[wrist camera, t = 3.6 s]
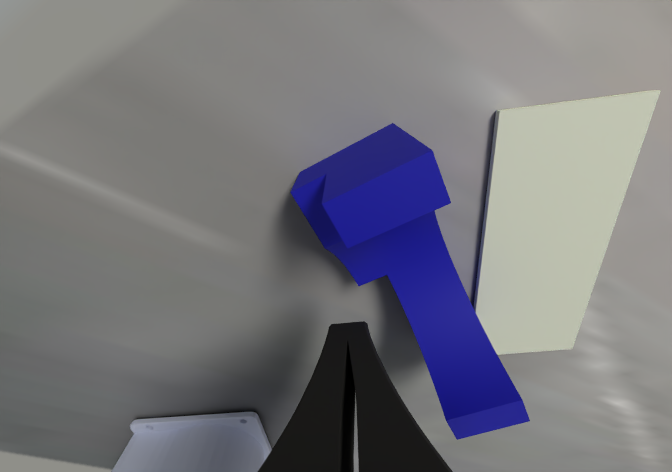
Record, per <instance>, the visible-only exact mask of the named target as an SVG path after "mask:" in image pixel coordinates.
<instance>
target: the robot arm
mask: <svg viewBox="0 0 672 472" xmlns="http://www.w3.org/2000/svg"><path fill="white" fill-rule="evenodd" d="M355 392H356V402H357V427H358V457H359V472H452V470H451V469H450V468H449V466H448V465H447V464H446V462H445V461H444V460H443V458H442V457H441V456H440V454H439V453H438V452H437V451H436V449H435V448H434V447H433V445H432V444H431V443H430V441H429V440H428V438H427V437H426V436H425V434H424V433H423V431H422V430H421V428H420V427H419V426H418V424H417V423H416V421H415V420H414V418H413V417H412V415H411V413H410V412H409V410H408V409H407V407H406V406H405V404H404V402H403V401H402V399H401V397H400V396H399V394H398V392H397V391H396V389H395V387H394V385H393V384H392V382H391V380H390V378H389V376H388V374H387V372H386V370H385V368H384V366H383V364H382V362H381V360H380V358H379V356H378V354H377V352H376V349H375V347H374V344H373V342H372V339H371V336H370V333H369V329H368V325H367V323H366V322H364V321H363V322H352V323H341V324H332V325H331V326H330V327H329V330H328V334H327V338H326V341H325V344H324V347H323V350H322V353H321V355H320V358H319V360H318V363H317V365H316V368H315V370H314V373H313V375H312V377H311V380H310V382H309V384H308V386H307V388H306V390H305V392H304V394H303V396H302V399H301V401H300V402H299V404H298V406H297V408H296V410H295V412H294V414H293V416H292V417H291V419H290V421H289V423H288V424H287V426H286V428H285V430H284V431H283V433H282V435H281V436H280V438H279V439H278V441H277V443H276V444H275V446H274V448H273V449H272V448H271V446H270V444H269V441H268V439H267V436H266V434H265V431H264V429H263V426H262V424H261V421H260V419H259V416H258V415H257V413H255V412H236V413H222V414H207V415H192V416H177V417H163V418H148V419H136V420H134V421H133V422H132V423H131V425H130V428H131V430H132V431H133V433H134V434H133V436H132V438H131V439H130V441H129V443H128V444H127V446H126V448H125V450H124V451H123V453H122V455H121V456H120V458H119V460H118V461H117V463H116V465H115V466H114V468H113V470H112V471H111V472H354V462H353V454H354V416H355Z"/></svg>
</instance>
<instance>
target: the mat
mask: <svg viewBox="0 0 672 472" xmlns="http://www.w3.org/2000/svg"><path fill="white" fill-rule="evenodd" d="M660 91H661V90H650V91H643V92H635V93H627V94H620V95H612V96H604V97H597V98H589V99H581V100H574V101H566V102H558V103H551V104H543V105H535V106H528V107H520V108H512V109H505V110H497V111H496V116H495V125H494V134H493V142H492V151H491V160H490V168H489V177H488V186H487V194H486V203H485V212H484V220H483V229H482V238H481V246H480V255H479V264H478V272H477V281H476V290H475V299H474V307H473V308H474V311H475V313H476V315H477V317H478V319H479V321H480V323H481V325H482V327H483V329H484V331H485V333H486V334H487V336H488V338H489V340H490V342H491V344H492V346H493V348H494V350H495V352H496V354H497V355H500V354H513V353H526V352H539V351H552V350H565V349H572V348H573V345H574V343H575V340H576V337H577V334H578V331H579V328H580V325H581V322H582V319H583V316H584V313H585V310H586V307H587V304H588V302H589V299H590V296H591V293H592V290H593V287H594V284H595V281H596V278H597V275H598V272H599V269H600V266H601V264H602V261H603V258H604V255H605V252H606V249H607V246H608V243H609V240H610V237H611V234H612V231H613V228H614V226H615V223H616V220H617V217H618V214H619V211H620V208H621V205H622V202H623V199H624V196H625V193H626V190H627V187H628V185H629V182H630V179H631V176H632V173H633V170H634V167H635V164H636V161H637V158H638V155H639V152H640V149H641V147H642V144H643V141H644V138H645V135H646V132H647V129H648V126H649V123H650V120H651V117H652V114H653V111H654V108H655V106H656V103H657V100H658V97H659V94H660Z"/></svg>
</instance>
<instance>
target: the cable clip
mask: <svg viewBox="0 0 672 472" xmlns="http://www.w3.org/2000/svg"><path fill="white" fill-rule="evenodd" d="M291 194H292V196H293V197H294V199H295V201H296V202H297V204H298V205H299V207H300V209H301V210H302V212H303V214H304V215H305V217H306V219H307V220H308V222H309V223H310V225H311V227H312V228H313V230H314V232H315V233H316V235H317V236H318V238H319V240H320V241H321V243H322V245H323V246H324V248H325V249H327V250H329V251H330V252H332V253H333V254H334V255H335V256H336V257H337V258H338V259H339V260H340V261H341V262H342V263H343V264H344V265H345V267H346V268H347V269H348V271H349V272H350V273H351V275H352V276H353V278H354V279H355V281H356V282H357V284H358V286H361V285H363V284H366V283H368V282H370V281H373V280H375V279H378V278H380V277H383V276H385V275H387V276H388V278H389V280H390V282H391V284H392V286H393V288H394V290H395V292H396V294H397V296H398V298H399V300H400V302H401V304H402V307H403V309H404V311H405V313H406V316H407V318H408V320H409V322H410V325H411V327H412V329H413V332H414V334H415V337H416V339H417V341H418V344H419V346H420V349H421V351H422V354H423V357H424V359H425V362H426V364H427V367H428V370H429V372H430V375H431V378H432V381H433V383H434V386H435V389H436V392H437V395H438V398H439V401H440V403H441V406H442V409H443V413H444V416H445V419H446V421H447V423H448V425H449V426H450V428H451V430H452V432H453V433H454V435H455V437H456V439H461V438H465V437H469V436H473V435H477V434H481V433H485V432H489V431H493V430H497V429H500V428H504V427H508V426H512V425H516V424H520V423H524V422H528V421H530V420H529V417H528V414H527V412H526V409H525V406H524V403H523V401H522V399H521V397H520V395H519V393H518V392H517V390H516V388H515V386H514V385H513V383H512V381H511V379H510V378H509V376H508V374H507V372H506V370H505V368H504V367H503V365H502V363H501V361H500V359H499V357H498V355H497V354H496V352H495V350H494V348H493V346H492V344H491V342H490V340H489V338H488V336H487V334H486V333H485V331H484V329H483V327H482V325H481V323H480V321H479V319H478V317H477V315H476V313H475V311H474V308H473V306H472V304H471V302H470V300H469V298H468V296H467V294H466V292H465V289H464V287H463V285H462V283H461V281H460V278H459V276H458V274H457V272H456V269H455V267H454V265H453V262H452V260H451V258H450V255H449V253H448V250H447V248H446V245H445V242H444V240H443V237H442V234H441V231H440V228H439V225H438V222H437V219H436V215H435V211H434V210H436V209H438V208H441V207H443V206H445V205H448V204H450V203H451V201H450V198H449V196H448V193H447V190H446V187H445V185H444V182H443V179H442V176H441V173H440V171H439V168H438V165H437V162H436V160H435V157H434V154H433V151H432V150H431V149H430V148H428V147H427V146H425V145H424V144H422V143H421V142H419V141H418V140H417V139H415V138H414V137H412V136H411V135H409V134H408V133H406V132H405V131H404V130H402V129H401V128H399V127H398V126H396V125H395V124H393V123H392V124H390V125H388V126H386V127H384V128H383V129H381V130H379V131H377V132H375V133H373V134H371V135H369V136H367V137H366V138H364V139H362V140H360V141H358V142H356V143H354V144H352V145H350V146H348V147H347V148H345V149H343V150H341V151H339V152H337V153H335V154H333V155H331V156H330V157H328V158H326V159H324V160H322V161H320V162H318V163H316V164H314V165H312V166H311V167H309V168H307V169H305V170H303V171H301V172H300V173H299V175H298V177H297V179H296V181H295V184H294V186H293V188H292V190H291Z"/></svg>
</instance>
